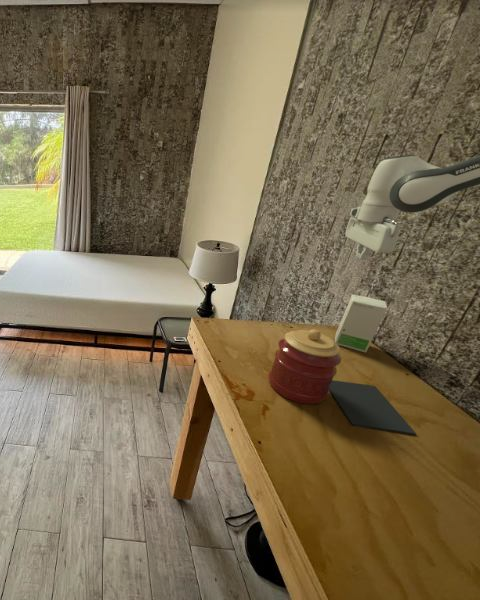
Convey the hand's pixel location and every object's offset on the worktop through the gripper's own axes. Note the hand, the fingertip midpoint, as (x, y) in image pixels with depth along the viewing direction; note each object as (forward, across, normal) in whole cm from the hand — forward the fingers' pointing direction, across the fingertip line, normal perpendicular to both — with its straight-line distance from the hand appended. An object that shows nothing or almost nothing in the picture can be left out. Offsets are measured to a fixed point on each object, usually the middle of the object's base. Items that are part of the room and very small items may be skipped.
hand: (360, 258), depth 100 cm
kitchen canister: (+25, -38, +24) cm, 52 cm away
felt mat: (+25, -41, +10) cm, 49 cm away
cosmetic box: (+25, -11, 0) cm, 28 cm away
